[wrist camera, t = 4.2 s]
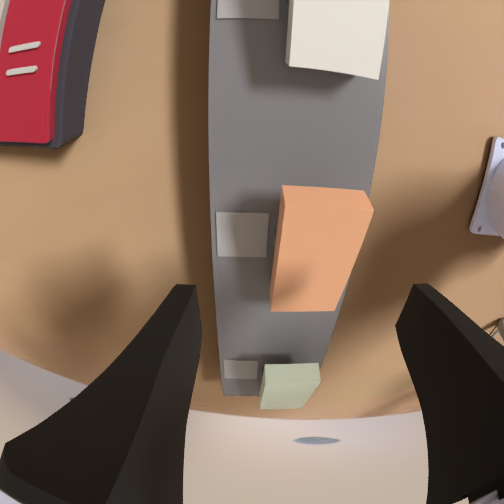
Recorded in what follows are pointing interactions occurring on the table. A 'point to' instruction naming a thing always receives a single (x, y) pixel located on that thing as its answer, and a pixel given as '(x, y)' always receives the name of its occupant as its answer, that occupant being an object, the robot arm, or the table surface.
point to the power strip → (274, 176)
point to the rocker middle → (316, 246)
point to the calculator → (45, 69)
